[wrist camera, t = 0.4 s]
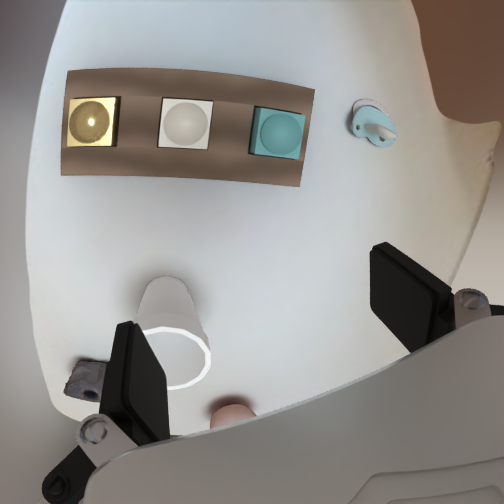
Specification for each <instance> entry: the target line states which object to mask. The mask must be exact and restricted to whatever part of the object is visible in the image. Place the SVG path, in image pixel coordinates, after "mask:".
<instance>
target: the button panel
mask: <svg viewBox="0 0 504 504" xmlns="http://www.w3.org/2000/svg"><path fill="white" fill-rule="evenodd" d="M314 93H315V89H310V88H306V87H301V86H297V85H292V84H287V83H282V82H277V81H271V80H266V79H260V78H254V77H247V76H240V75H233V74H225V73H216V72H207V71H196V70H182V69H163V68H103V69H84V70H72V71H68V72H67V80H66V88H65V96H64V107H63V119H62V136H61V176H71V175H115V176H155V177H179V178H197V179H213V180H227V181H240V182H252V183H263V184H274V185H283V186H293V187H300V181H301V175H302V169H303V163H304V157H305V151H306V145H307V139H308V132H309V126H310V120H311V113H312V106H313V100H314ZM88 98H118V99H120V108H119V118H118V129H117V143H116V144H114V145H111V146H67V135H68V119H69V107H70V99H88ZM163 99H182V100H196V101H208V102H213V106H212V113H211V121H210V129H209V138H208V146H207V149H194V148H177V147H158V146H159V135H160V125H161V115H162V106H163ZM255 108H265V109H271V110H277V111H283V112H289V113H294V114H300V115H305V123H304V129H303V135H302V142H301V148H300V154H299V159H292V158H284V157H276V156H268V155H260V154H254V153H252V152H250V151H249V143H250V136H251V129H252V122H253V115H254V109H255Z"/></svg>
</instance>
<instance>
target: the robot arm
mask: <svg viewBox="0 0 504 504" xmlns="http://www.w3.org/2000/svg"><path fill="white" fill-rule="evenodd" d="M451 290H452V288H451V287H449V286H448V285H447V284H445V283H444V282H443V281H441V280H440V279H439V278H437V277H436V276H435V275H433V274H432V273H431V272H429V271H428V270H426V269H425V268H424V267H422V266H421V265H419V264H418V263H417V262H415V261H414V260H412V259H411V258H410V257H408V256H407V255H405V254H404V253H402V252H401V251H399V250H398V249H397V248H395V247H394V246H392V245H391V244H389V243H388V242H383V243H380V244H378V245H375V246H373V248H372V250H371V251H370V306H371V309H372V311H373V312H374V313H375V315H376V316H377V317H378V318H379V319H380V320H381V321H382V322H383V323H384V324H385V325H386V326H387V327H388V329H389V330H390V331H391V332H392V333H393V334H394V335H395V336H396V337H397V338H398V340H399V341H400V342H401V343H402V344H403V345H404V346H405V347H406V348H407V349H408V351H409V352H410V354H409V355H407V356H405V357H403V358H401V359H399V360H397V361H395V362H393V363H391V364H389V365H386V366H384V367H382V368H380V369H378V370H376V371H374V372H372V373H369V374H367V375H365V376H363V377H360V378H358V379H356V380H354V381H351V382H349V383H347V384H344V385H342V386H339V387H337V388H335V389H332V390H330V391H327V392H325V393H322V394H319V395H317V396H314V397H312V398H309V399H306V400H304V401H301V402H298V403H295V404H292V405H290V406H287V407H284V408H281V409H278V410H275V411H272V412H269V413H266V414H262V415H259V416H256V417H253V418H249V419H246V420H242V421H239V422H235V423H232V424H228V425H224V426H221V427H217V428H213V429H209V430H205V431H201V432H197V433H193V434H189V435H184V436H180V437H175V438H171V439H170V430H169V415H168V398H167V378H166V374H165V372H164V370H163V368H162V366H161V365H160V363H159V361H158V359H157V357H156V356H155V354H154V352H153V350H152V348H151V347H150V345H149V343H148V341H147V339H146V337H145V335H144V333H143V332H142V330H141V328H140V326H139V324H138V323H135V324H134V323H133V322H132V321H127V322H124V323H120V324H117V327H116V332H115V337H114V342H113V347H112V353H111V358H110V361H109V362H107V365H106V369H105V375H104V381H103V387H102V394H101V401H100V408H99V414H93V415H90V416H88V417H86V418H85V419H84V420H83V421H82V422H81V423H80V424H79V426H78V428H77V430H76V440H77V442H78V444H79V445H78V446H77V447H76V448H75V449H74V450H73V451H72V452H71V453H70V454H69V455H68V456H67V457H66V458H65V459H64V460H63V461H61V463H59V464H58V465H57V466H56V467H55V468H54V469H53V470H52V471H51V472H50V473H49V474H48V475H47V476H46V477H45V479H44V481H43V484H42V494H43V496H44V499H43V501H40V500H38V502H37V504H504V306H501V305H490V304H489V301H488V299H487V297H486V296H485V294H483V293H482V292H480V291H479V290H476V289H470V288H466V289H461V290H459V291H458V292H456V294H455V295H454V294H453V293H451Z"/></svg>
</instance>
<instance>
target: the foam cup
mask: <svg viewBox="0 0 504 504" xmlns="http://www.w3.org/2000/svg"><path fill="white" fill-rule="evenodd" d="M133 323H134V324H135V323H138V324H139V326H140V328H141V330H142V332H143V333H144V335H145V337H146V339H147V341H148V343H149V345H150V347H151V348H152V350H153V352H154V354H155V356H156V357H157V359H158V361H159V363H160V365H161V366H162V368H163V370H164V372H165V374H166V378H167V390H174V389H179V388H184V387H189V386H191V385H192V384H194V383H196V382H197V381H199V380H201V379H202V378H203V377H204V376H205V374H206V373H207V371H208V369H209V368H210V366H211V356H210V347H209V341H208V337H207V336H206V334H205V333H204V331H203V329H202V326H201V323H200V321H199V318H198V315H197V312H196V310H195V307H194V304H193V301H192V299H191V296H190V293H189V291H188V289H187V287H186V286H185V284H184V283H183V282H181V281H180V280H178V279H177V278H174V277H168V276H163V277H159V278H155V279H154V280H153V281H152V282H150V283H149V284H148V285H147V288H146V290H145V292H144V295H143V297H142V300H141V303H140V305H139V308H138V311H137V314H136V316H135V319H134V322H133Z"/></svg>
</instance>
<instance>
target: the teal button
mask: <svg viewBox="0 0 504 504" xmlns="http://www.w3.org/2000/svg"><path fill="white" fill-rule="evenodd" d="M304 123H305V115H300V114H294V113H289V112H283V111H277V110H271V109H265V108H255V109H254V115H253V122H252V129H251V136H250V143H249V151H250V152H252V153H254V154H260V155H268V156H276V157H284V158H292V159H299V154H300V148H301V142H302V135H303V129H304Z"/></svg>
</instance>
